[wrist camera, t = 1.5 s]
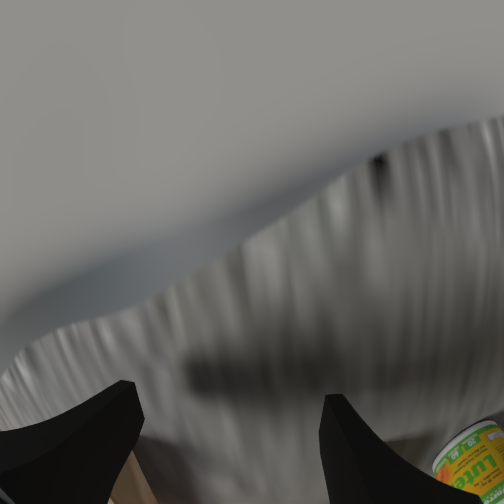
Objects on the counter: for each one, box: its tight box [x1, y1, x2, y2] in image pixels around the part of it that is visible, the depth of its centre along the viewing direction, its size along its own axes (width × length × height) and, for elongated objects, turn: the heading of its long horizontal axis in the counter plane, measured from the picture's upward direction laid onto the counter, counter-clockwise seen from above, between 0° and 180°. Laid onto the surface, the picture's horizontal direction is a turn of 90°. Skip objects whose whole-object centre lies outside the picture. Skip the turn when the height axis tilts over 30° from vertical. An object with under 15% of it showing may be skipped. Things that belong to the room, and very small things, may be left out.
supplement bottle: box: [432, 421, 504, 504], centre depth 7 cm, size 5×5×10 cm
